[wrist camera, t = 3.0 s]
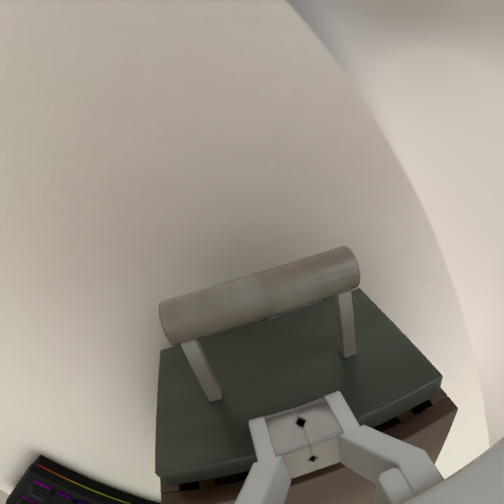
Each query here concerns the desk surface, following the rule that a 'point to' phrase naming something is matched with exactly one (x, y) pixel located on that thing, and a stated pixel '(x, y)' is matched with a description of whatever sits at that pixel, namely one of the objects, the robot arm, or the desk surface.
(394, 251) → the desk surface
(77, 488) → the keyboard
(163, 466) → the drawer
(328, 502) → the cabinet
